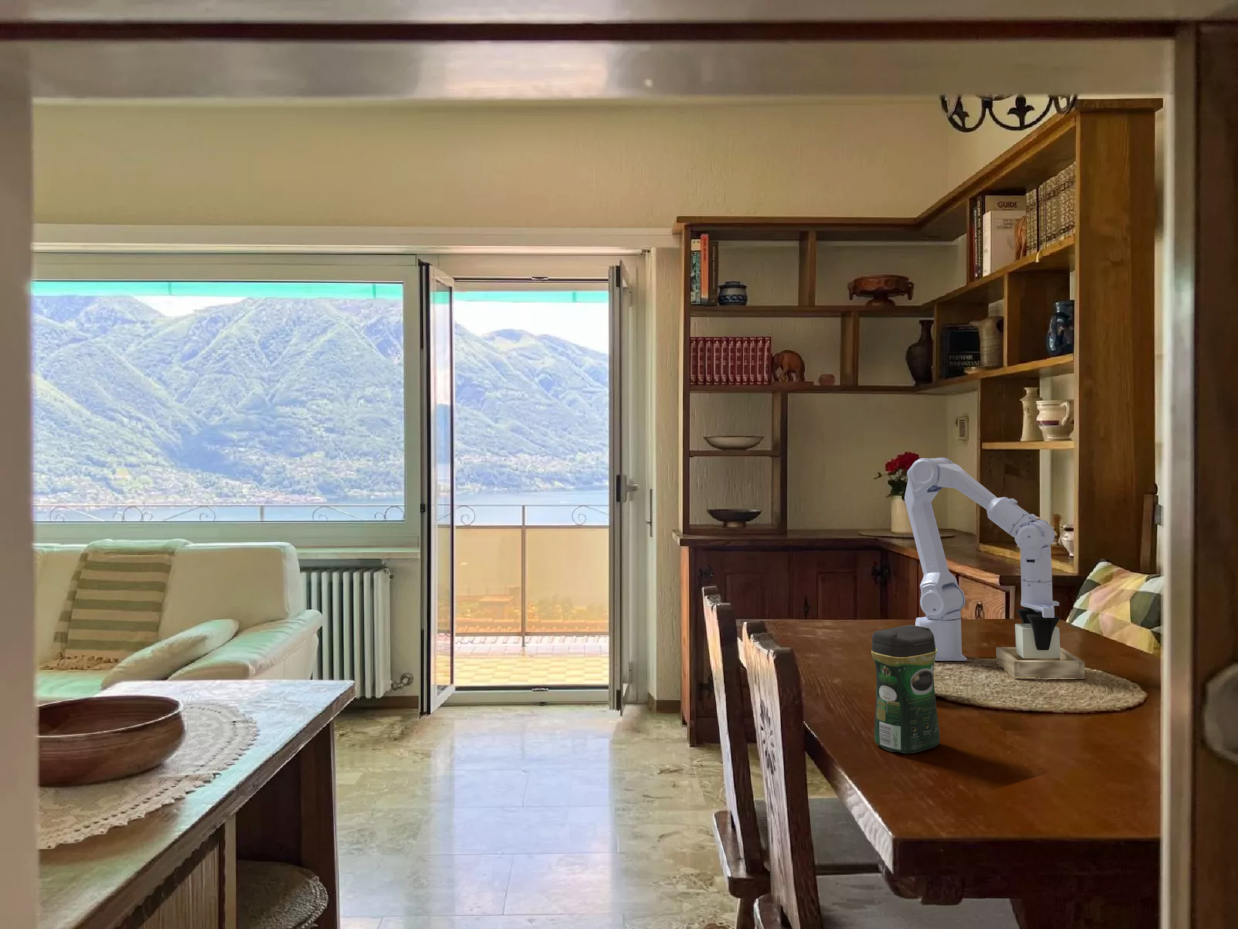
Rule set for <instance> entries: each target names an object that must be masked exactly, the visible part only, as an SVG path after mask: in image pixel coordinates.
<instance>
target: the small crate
mask: <svg viewBox="0 0 1238 929" xmlns="http://www.w3.org/2000/svg"><path fill="white" fill-rule="evenodd" d="M1014 630H1015V633H1014V634H1015V647H1016V653H1017V654H1018V655H1020V656H1021V657H1022V658H1060V647H1061V641H1060V640H1061V638H1060V637H1061V636H1060V628H1059V627H1058V626H1057V625H1056V626H1055V628H1054V631H1053V634H1052V638H1051V643H1050V647H1049V650H1037V648H1036V645H1035V639H1034V633H1033V629H1032V626H1031V624H1023V623H1015V624H1014Z"/></svg>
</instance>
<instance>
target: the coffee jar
mask: <svg viewBox="0 0 1238 929" xmlns="http://www.w3.org/2000/svg"><path fill="white" fill-rule="evenodd" d="M871 635H872V636H871V651H870V652H871V655H872V656H871V657H872V660H873V662H874V665H875V676H876V677H875V678H876V679H875V680H876V681H875V682H876V685H875V686H876V687H875V712H874V742H875V743H876V745H878V746H879V747H881V749H884V750H885V751H889V752H890V753H891V752H892V753H894V752H897V753H902V754H915V753H919V752H922V751H923V752H924V751H926V750H927V751H928V750H930V749H933V748H935V747H937V746H938V745H939V744H940V743H941V742H940V741H941V740H940V728H939V727H940V725H939V724H940V723H939V718H938V717H939V716H938V711H937V710H938V709H937V701H936V689H935V679H934V678H935V677H934V675H935V674H934V669H935V656H936V647H935V640H934V635H933V633H932V632H931V630H930V629H929V628H926V627H921V626H915V625H914V624H908V625H899V626H896V627H890V628H885V629H877V630H876V631H874V632H873V633H872V634H871Z"/></svg>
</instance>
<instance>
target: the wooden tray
mask: <svg viewBox="0 0 1238 929" xmlns="http://www.w3.org/2000/svg"><path fill="white" fill-rule="evenodd" d="M995 651H996V652H995V654H996V655H995V656H996V658H995V659H996V664H997V663H998V664H999V665H1000V666H1001V667H1003V668H1004V669H1005V670H1007V671H1008V672H1009V673H1010V674H1011V675H1012V676H1013V677H1036V678H1039V677H1040V678H1074V679H1075V678H1076V679H1082V678H1083V679H1084V678H1085V676H1086V673H1085V672H1086V671H1085V667H1086V666H1085V660H1084V661H1083V660H1082V659H1080V658H1079V657H1077V656H1076V655H1074V654H1073V653H1071V652H1069V651H1068V650H1066V649H1064V648H1063V647H1061V646H1060V658H1022V657H1021V656H1020V655H1018V654H1017V653H1016V646H1015V647H1012V646H1010V647H1009V646H1005V647H1004V646H996V647H995ZM998 664H997V665H998ZM999 665H998V666H999ZM1000 666H999V667H1000ZM1001 667H1000V668H1001ZM1005 670H1004V671H1005ZM1013 677H1012V678H1013ZM1085 679H1086V678H1085Z"/></svg>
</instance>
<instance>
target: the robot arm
mask: <svg viewBox="0 0 1238 929" xmlns="http://www.w3.org/2000/svg"><path fill="white" fill-rule="evenodd" d="M906 475H907V484H906V488H905V493H904V503H905V508H906V511H907V514H908V519H909V523H910V527H911V530H912V535H913V538H914V541H915V545H916V546H915V547H916V551H917V554H918V558H919V561H920V562H919V563H920V566H921V570H922V574H923V577H922V579H921V581H920V584H919V588H920V599H919V603H920V604H919V606H920V608H921V610H922V612H923V613H924V614H925V616H921V617H916V618H915V626H921V627H926V628H929V629H930V630H931V632H932V633H933V635H934V640H935V647H936V649H937V653H936V656H935V661H936V662H938V661H940V662H946V661H948V662H951V661H953V662H960V661H961V662H966V661H968V658H967V657H966V656H965V655H964V654H963V653H962V652H963V650H962V648H963V646H962V615H961V610H962V609H963V608H964V606H965V604H966V596H965V593H964V591H963V590H962V589H961V587H960V586H959V583H958V581H957V578H956V576H954V575H953V573H952V572H950V570H949V566H948V561H947V558H946V554H945V551H944V547H943V542H942V540H941V539H942V538H941V535H940V531H939V528H938V524H937V520H936V516H935V512H934V508H933V505H932V502H933V501H934V499H935V497H937V495H938V493H939V492H940V491H941V490H942V489H943V488H948V489H949V488H950V489H955V490H957V491H959V492H960V493H962V494H963V495H964V496H966V497H968V498H969V499H970V500H972V501H974V502H975V503H976V504H978V505H979V506H980V507H982V508H983V509H985V510H986V515H987V516H986V517H987V518H988V520H990V521H991V522H992V523H994V524H995V525H997V526H998V527H999V528H1000V529H1002V530H1003V531H1005V532H1006V533H1007V534H1008V535H1010V536H1011V537H1013V538H1014V542H1015V543H1016V545H1017V547H1019V549H1020V552H1019V553H1020V558H1019V559H1020V587H1021V588H1020V589H1021V590H1020V591H1021V594H1020V595H1021V597H1020V598H1021V600H1020V606H1021V607H1024V608H1018V609H1016V612H1017V614H1018V616H1019V617H1020V620H1021V624H1031V626H1032V629H1033V633H1034V639H1035V645H1036V648H1037V650H1049V647H1050V643H1051V638H1052V634H1053V631H1054V628H1055V626H1056V627H1057V625H1058V623H1059V620H1060V617H1059V616H1057V615H1055V607H1056V606H1057V607H1059V606H1060V602H1059V601H1057V600H1053V569H1052V568H1053V566H1052V565H1053V564H1052V548H1051V545H1052V544H1053V543H1054V541H1055V537H1056V533H1055V530H1054V528H1053V526H1052V525H1051V524H1049V522H1048V521H1047V520H1045V519H1037V515H1035V514H1034V513H1031V514H1030V513H1029V512H1028V511H1026V510H1025V509H1024V508H1022V507H1021V506H1019V505H1018V500H1016V499H1015V498H1009V497H1007V496H1002V497H997V496H996V495H995V494H993V493H992V492H991V491H990V490H989V489H988V488H987V487H985V486H984V485H982V484H981V483H980V482H979V481H978V480H977V479H975V478H974V477H972V476H971V475H970V474H969V473H967V471H965V470H964V469H963V468H962V467H961V466H960V465H958V464H956V463H954V462H953V461H952V460H951V459H949V458H947V457H936V458H935V457H934V458H932V457H930V458H926V457H923V458H922V457H921V458H918V459H917V460H916V459H915V461H914V462H913V463H912V465H911V466H910V467H909V469H907V472H906ZM935 661H934V662H935Z"/></svg>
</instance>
